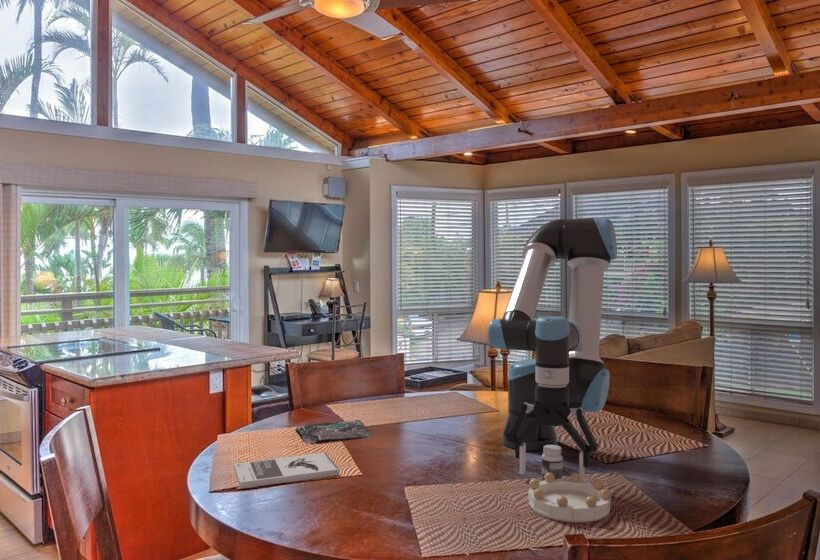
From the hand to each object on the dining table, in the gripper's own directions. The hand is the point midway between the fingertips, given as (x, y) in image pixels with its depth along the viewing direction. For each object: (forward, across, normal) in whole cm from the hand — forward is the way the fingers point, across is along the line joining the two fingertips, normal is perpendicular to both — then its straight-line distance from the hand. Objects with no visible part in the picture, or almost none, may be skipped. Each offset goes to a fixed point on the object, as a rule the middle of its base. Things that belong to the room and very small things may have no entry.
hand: (551, 476), depth 145 cm
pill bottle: (+2, 0, 0) cm, 2 cm away
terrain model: (+2, -67, +16) cm, 69 cm away
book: (+3, -61, -18) cm, 64 cm away
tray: (+2, +6, -12) cm, 13 cm away
